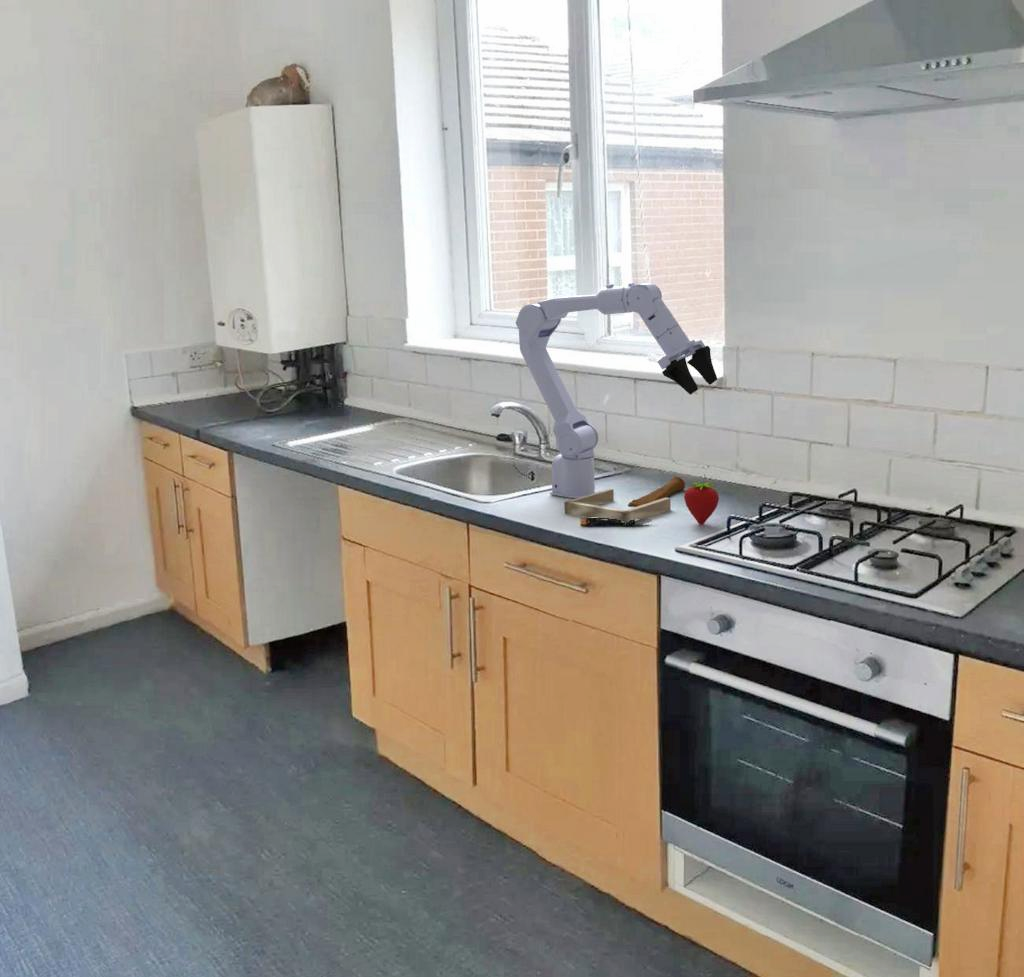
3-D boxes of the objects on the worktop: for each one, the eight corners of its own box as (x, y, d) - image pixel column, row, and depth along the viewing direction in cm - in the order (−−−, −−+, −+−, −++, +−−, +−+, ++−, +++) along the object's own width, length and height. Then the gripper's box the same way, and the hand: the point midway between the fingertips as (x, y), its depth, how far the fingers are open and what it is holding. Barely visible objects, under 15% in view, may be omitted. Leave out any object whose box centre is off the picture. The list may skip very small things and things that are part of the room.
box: (564, 513, 230) (564, 501, 229) (609, 499, 240) (609, 488, 240) (626, 524, 219) (626, 512, 218) (670, 509, 229) (670, 498, 229)
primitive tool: (648, 510, 231) (648, 494, 231) (625, 507, 234) (625, 491, 234) (686, 491, 247) (686, 476, 246) (664, 489, 250) (664, 474, 249)
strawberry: (697, 518, 222) (697, 469, 220) (725, 524, 216) (726, 475, 214) (677, 523, 218) (676, 474, 216) (705, 530, 212) (705, 479, 210)
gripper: (660, 331, 220) (698, 386, 219) (699, 314, 230) (735, 368, 229) (639, 349, 225) (675, 404, 224) (677, 332, 235) (712, 385, 234)
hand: (704, 387), depth 227 cm, fingers open, 7 cm apart
